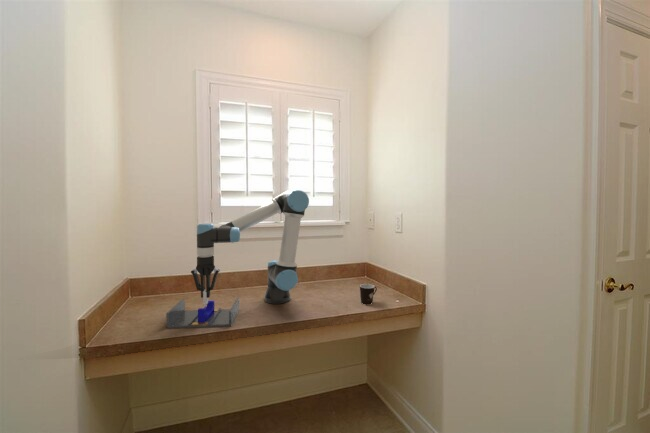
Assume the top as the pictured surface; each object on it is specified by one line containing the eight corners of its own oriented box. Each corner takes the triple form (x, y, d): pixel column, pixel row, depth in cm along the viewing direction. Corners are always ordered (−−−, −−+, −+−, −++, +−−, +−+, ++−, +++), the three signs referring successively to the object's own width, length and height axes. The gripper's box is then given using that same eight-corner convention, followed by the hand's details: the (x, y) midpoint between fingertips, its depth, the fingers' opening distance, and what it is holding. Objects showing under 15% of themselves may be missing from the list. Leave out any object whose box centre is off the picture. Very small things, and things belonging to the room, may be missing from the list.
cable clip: (205, 312, 138) (205, 300, 138) (214, 312, 138) (214, 300, 138) (194, 322, 126) (194, 309, 126) (204, 322, 126) (204, 309, 126)
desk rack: (238, 310, 143) (239, 297, 143) (231, 326, 126) (231, 311, 125) (182, 312, 140) (182, 298, 140) (166, 328, 122) (166, 313, 122)
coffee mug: (362, 306, 153) (362, 288, 153) (357, 300, 162) (357, 284, 161) (381, 305, 156) (382, 287, 155) (375, 299, 164) (376, 283, 164)
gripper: (221, 254, 136) (221, 300, 137) (194, 254, 134) (194, 301, 136) (217, 257, 128) (217, 306, 130) (188, 257, 127) (188, 307, 128)
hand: (205, 303), depth 133 cm, fingers closed
